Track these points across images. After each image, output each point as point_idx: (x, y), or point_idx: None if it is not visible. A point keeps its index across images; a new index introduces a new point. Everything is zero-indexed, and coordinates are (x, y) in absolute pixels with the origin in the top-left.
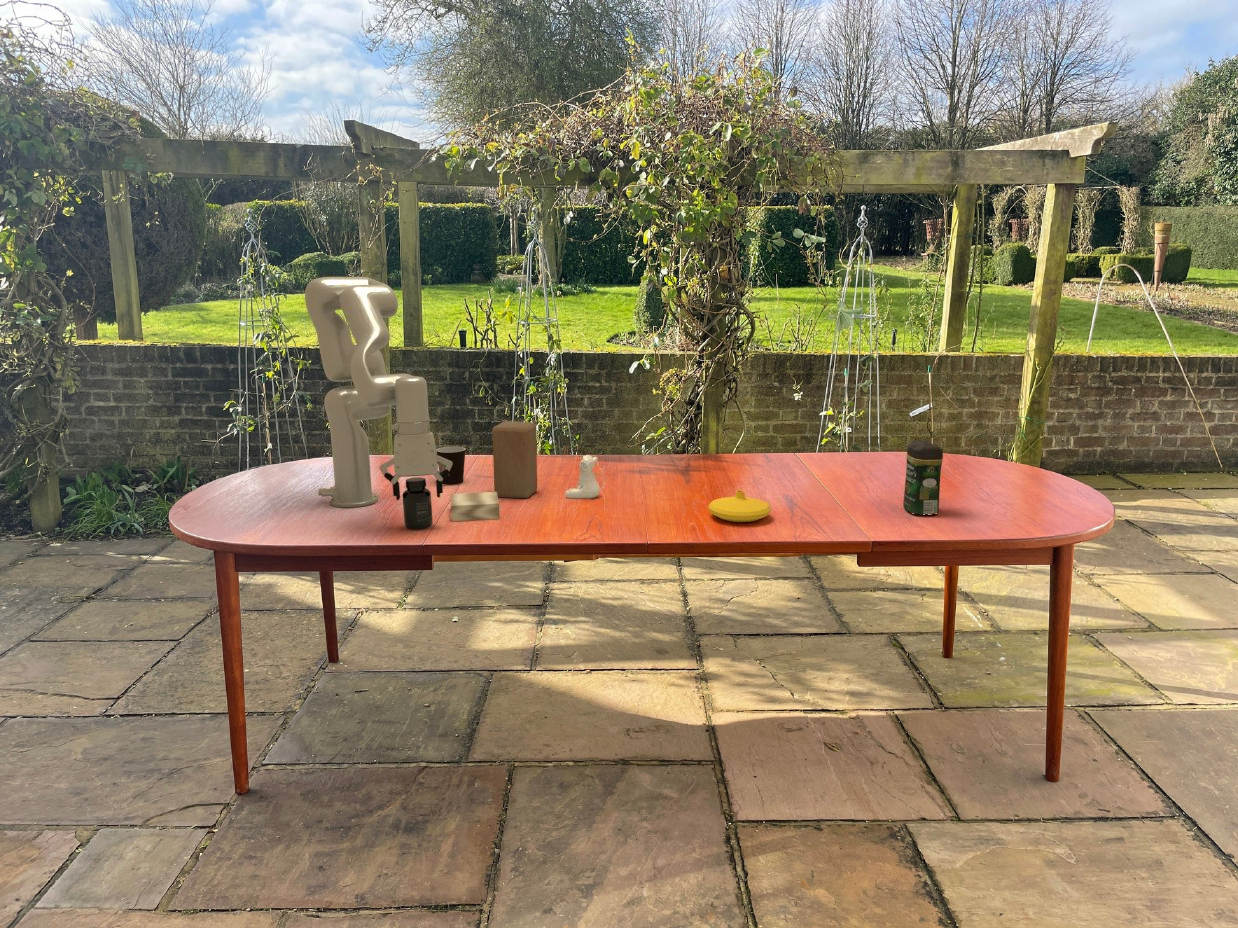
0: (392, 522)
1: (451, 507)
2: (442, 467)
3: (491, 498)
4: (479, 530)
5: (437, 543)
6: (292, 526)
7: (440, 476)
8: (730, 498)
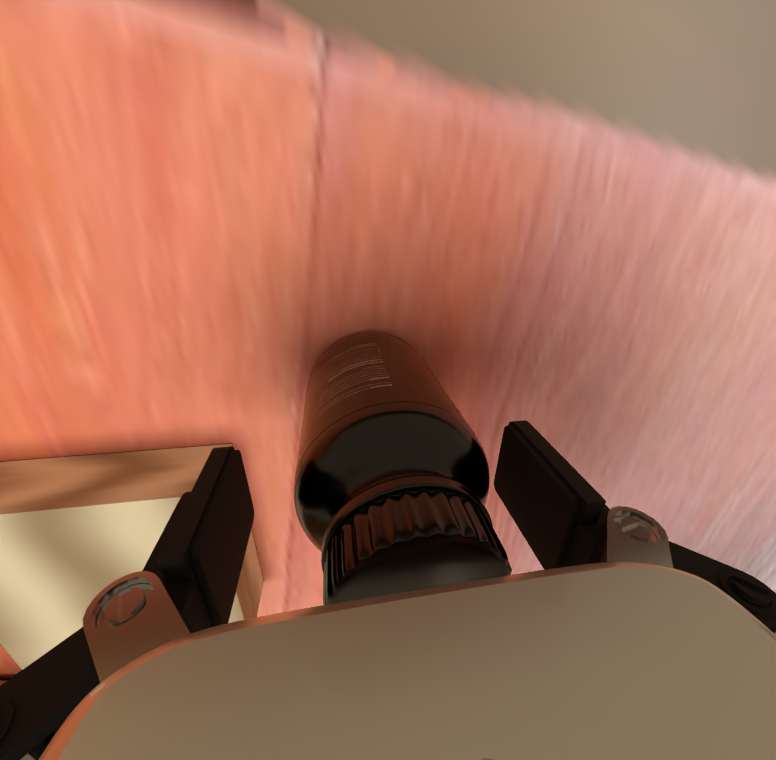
0: None
1: None
2: None
3: (7, 599)
4: (29, 279)
5: (233, 36)
6: (768, 436)
7: (101, 638)
8: None
